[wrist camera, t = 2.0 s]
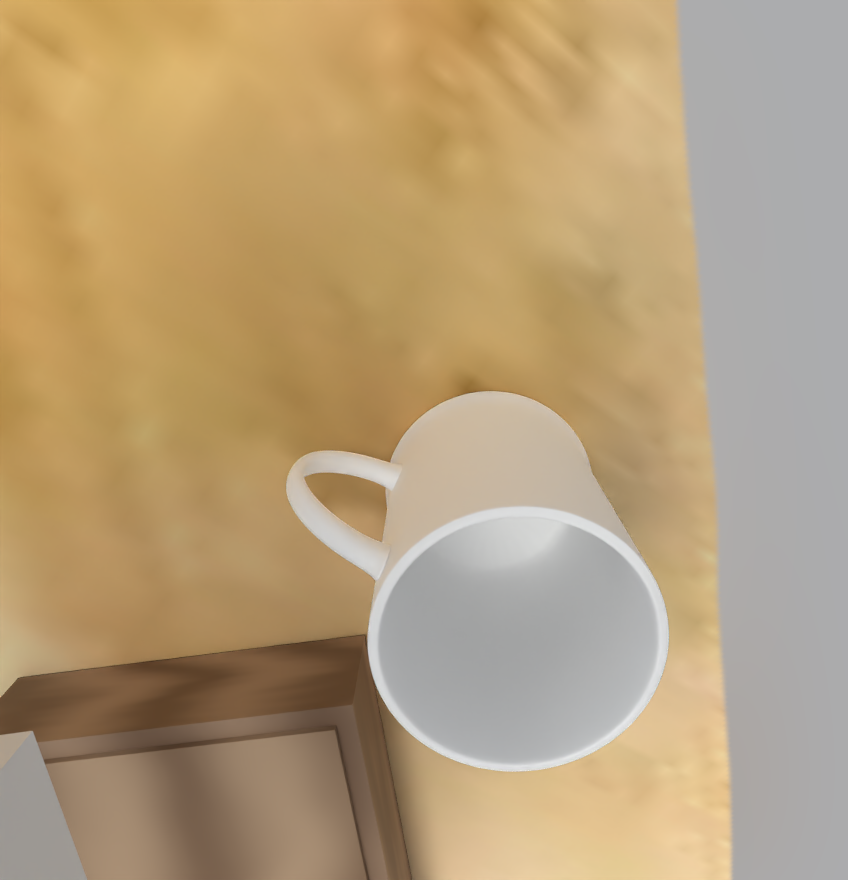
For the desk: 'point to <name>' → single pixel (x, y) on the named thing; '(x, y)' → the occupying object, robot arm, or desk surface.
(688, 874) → the desk surface
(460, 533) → the mug
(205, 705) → the tray
